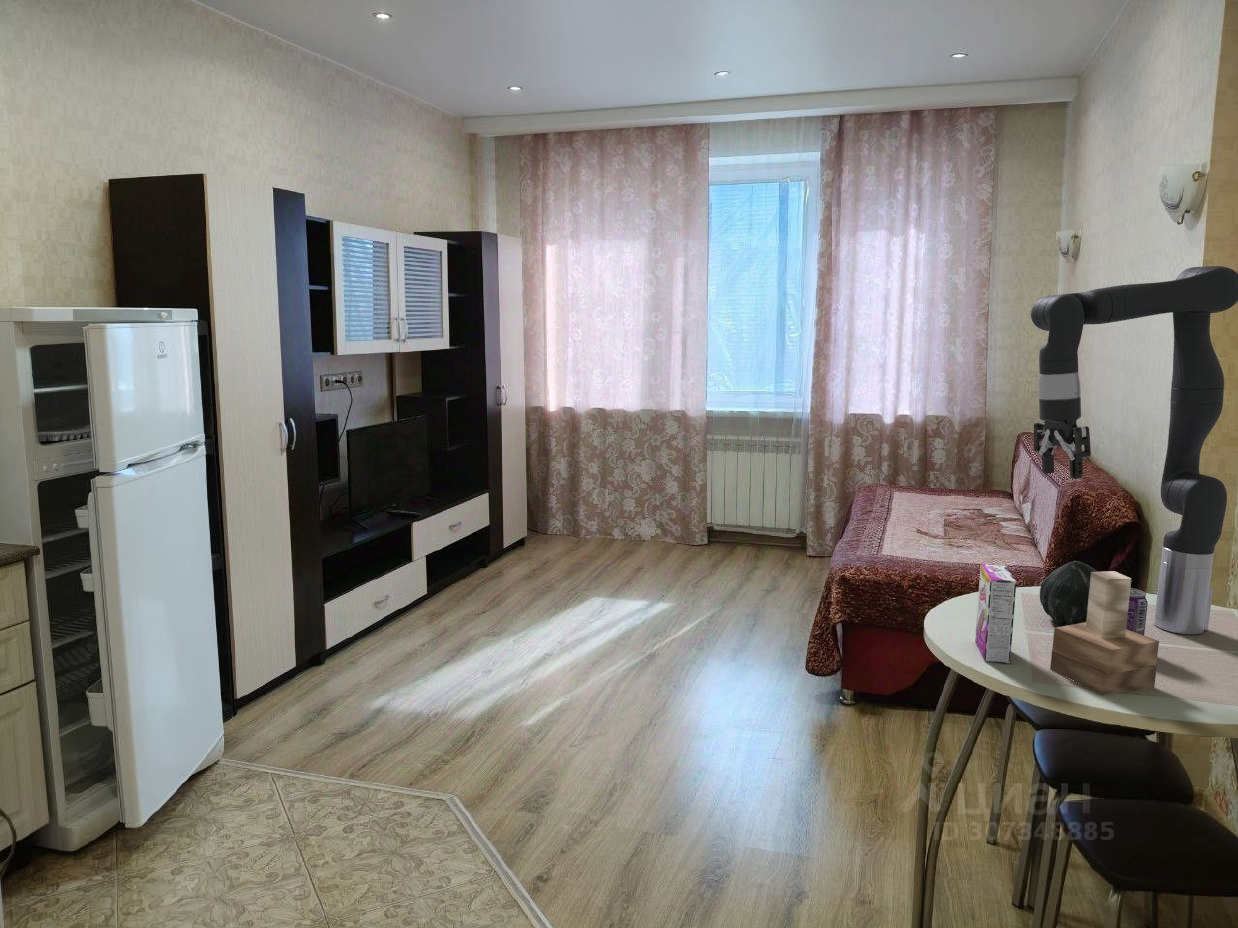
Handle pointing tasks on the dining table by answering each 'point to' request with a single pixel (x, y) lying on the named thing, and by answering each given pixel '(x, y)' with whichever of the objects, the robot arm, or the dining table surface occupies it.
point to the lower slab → (1103, 676)
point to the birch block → (1108, 604)
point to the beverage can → (1137, 611)
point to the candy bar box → (995, 613)
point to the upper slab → (1105, 649)
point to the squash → (1067, 593)
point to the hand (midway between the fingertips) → (1062, 475)
